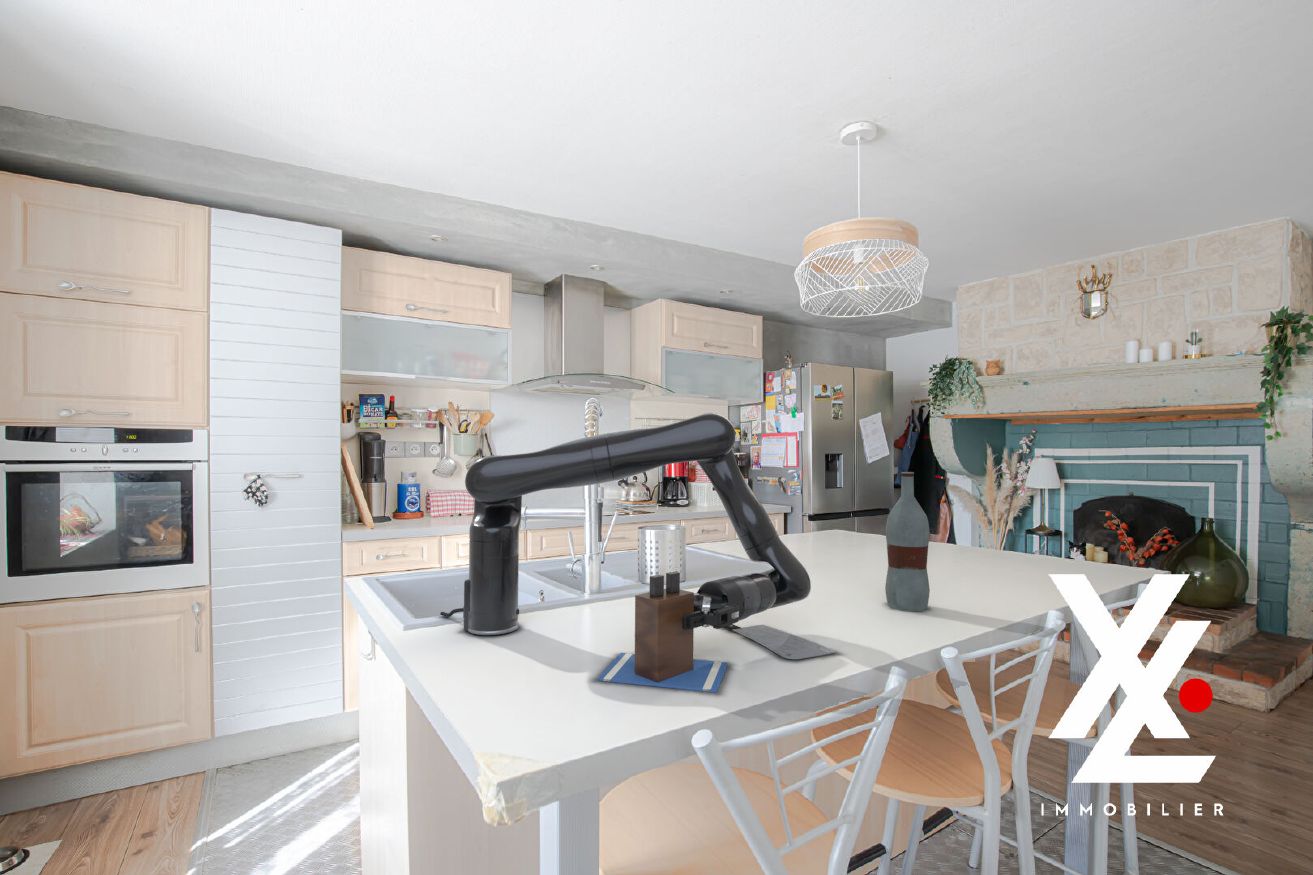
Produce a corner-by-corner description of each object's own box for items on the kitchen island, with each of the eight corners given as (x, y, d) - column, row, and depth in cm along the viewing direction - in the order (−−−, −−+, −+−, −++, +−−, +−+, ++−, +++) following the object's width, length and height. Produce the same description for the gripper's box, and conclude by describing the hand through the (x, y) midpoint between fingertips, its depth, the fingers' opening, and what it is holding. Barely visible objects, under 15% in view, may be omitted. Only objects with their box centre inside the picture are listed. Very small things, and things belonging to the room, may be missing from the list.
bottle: (908, 600, 146) (908, 471, 146) (939, 609, 137) (939, 472, 138) (876, 603, 143) (876, 471, 143) (905, 613, 134) (906, 473, 134)
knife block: (634, 673, 96) (635, 575, 96) (670, 661, 102) (670, 568, 102) (657, 682, 92) (658, 580, 93) (693, 669, 98) (694, 573, 98)
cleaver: (737, 612, 133) (697, 617, 129) (737, 609, 133) (697, 615, 129) (837, 653, 107) (791, 661, 103) (837, 650, 107) (791, 658, 103)
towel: (597, 680, 94) (597, 677, 94) (621, 655, 106) (621, 652, 106) (716, 692, 90) (716, 689, 90) (727, 664, 101) (727, 662, 101)
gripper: (697, 572, 113) (632, 585, 102) (763, 584, 103) (698, 601, 92) (697, 613, 113) (631, 632, 102) (763, 630, 103) (698, 652, 92)
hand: (663, 617), depth 97 cm, fingers open, 8 cm apart
